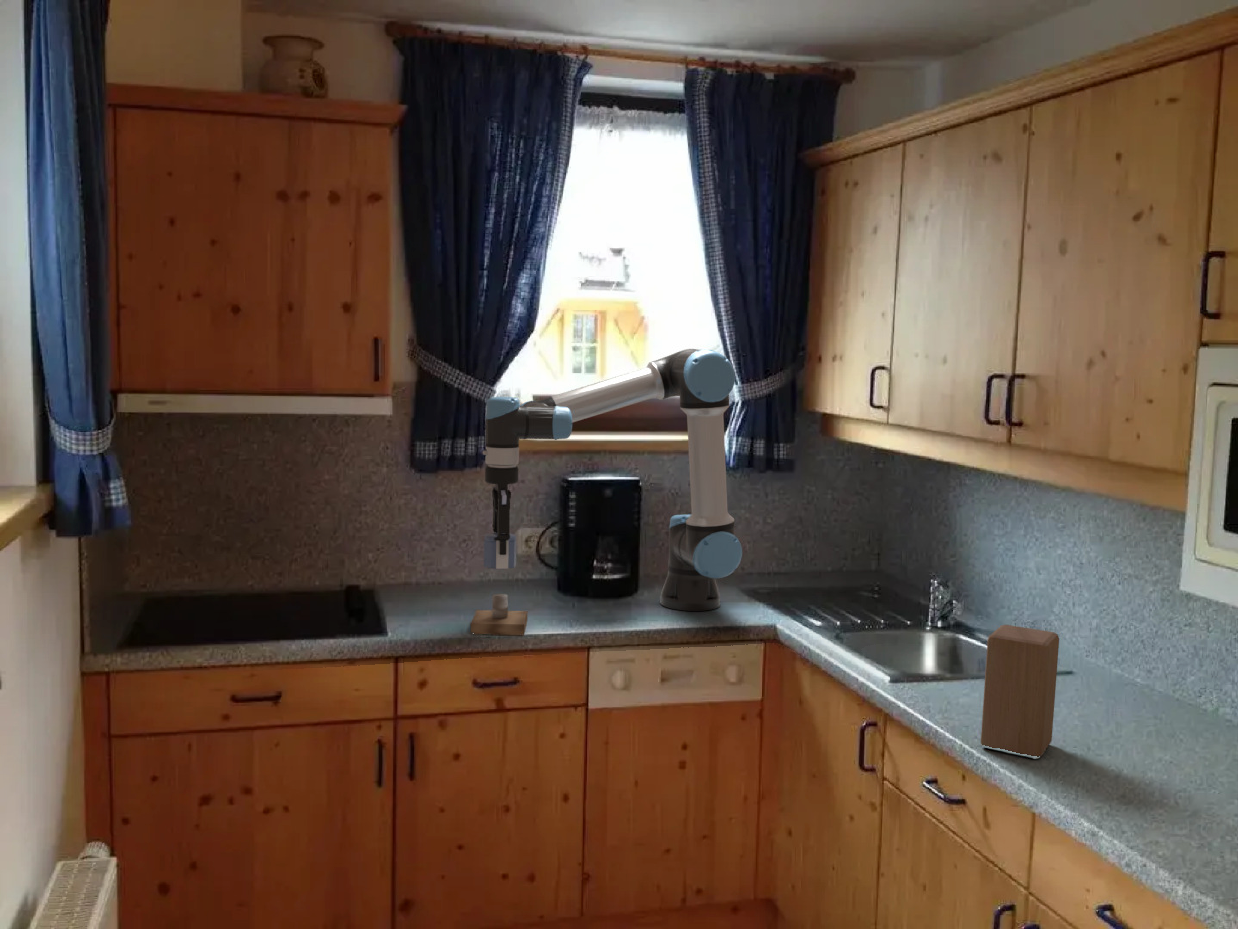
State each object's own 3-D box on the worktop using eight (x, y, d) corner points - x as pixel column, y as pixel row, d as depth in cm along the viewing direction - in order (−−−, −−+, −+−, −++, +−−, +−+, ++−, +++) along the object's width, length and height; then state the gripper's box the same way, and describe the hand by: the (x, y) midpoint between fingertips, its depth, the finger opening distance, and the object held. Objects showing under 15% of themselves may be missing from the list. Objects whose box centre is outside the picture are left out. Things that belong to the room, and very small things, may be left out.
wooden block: (978, 749, 194) (986, 635, 192) (993, 732, 203) (1000, 622, 200) (1040, 762, 189) (1048, 645, 187) (1052, 744, 197) (1060, 631, 195)
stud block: (527, 621, 269) (527, 590, 268) (524, 635, 257) (524, 602, 256) (476, 620, 269) (476, 589, 268) (470, 634, 257) (471, 601, 256)
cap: (518, 563, 265) (518, 533, 264) (512, 569, 257) (513, 539, 257) (487, 561, 265) (488, 532, 264) (481, 568, 258) (481, 537, 257)
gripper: (481, 459, 268) (480, 555, 270) (488, 471, 248) (487, 574, 251) (513, 460, 269) (512, 555, 272) (523, 471, 249) (521, 574, 252)
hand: (500, 564), depth 261 cm, fingers closed on cap, 7 cm apart
